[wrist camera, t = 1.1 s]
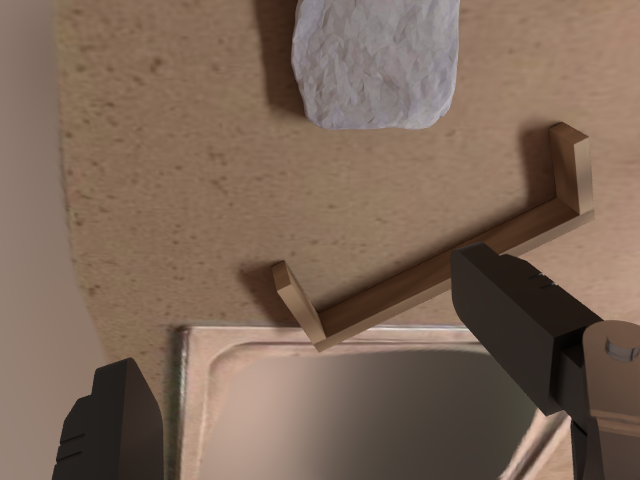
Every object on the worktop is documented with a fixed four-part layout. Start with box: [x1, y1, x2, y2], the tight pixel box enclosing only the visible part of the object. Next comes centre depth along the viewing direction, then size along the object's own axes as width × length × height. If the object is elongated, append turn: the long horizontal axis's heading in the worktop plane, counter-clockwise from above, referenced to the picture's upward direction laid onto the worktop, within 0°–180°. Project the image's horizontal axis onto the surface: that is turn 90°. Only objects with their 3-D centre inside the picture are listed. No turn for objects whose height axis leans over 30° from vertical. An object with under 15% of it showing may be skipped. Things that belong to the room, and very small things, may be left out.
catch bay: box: [271, 122, 595, 352], centre depth 39 cm, size 8×25×3 cm, turn 114°
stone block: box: [291, 0, 460, 130], centre depth 29 cm, size 12×5×10 cm
